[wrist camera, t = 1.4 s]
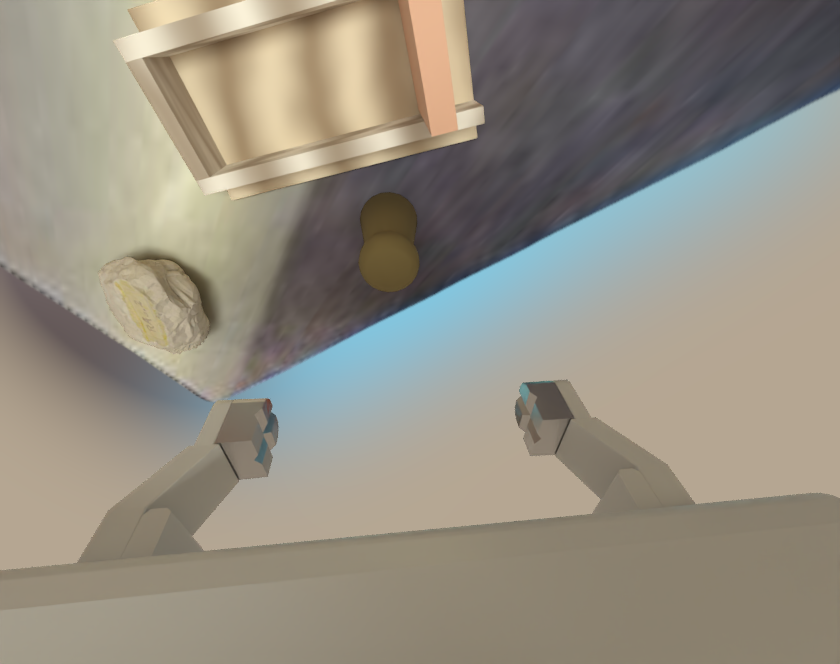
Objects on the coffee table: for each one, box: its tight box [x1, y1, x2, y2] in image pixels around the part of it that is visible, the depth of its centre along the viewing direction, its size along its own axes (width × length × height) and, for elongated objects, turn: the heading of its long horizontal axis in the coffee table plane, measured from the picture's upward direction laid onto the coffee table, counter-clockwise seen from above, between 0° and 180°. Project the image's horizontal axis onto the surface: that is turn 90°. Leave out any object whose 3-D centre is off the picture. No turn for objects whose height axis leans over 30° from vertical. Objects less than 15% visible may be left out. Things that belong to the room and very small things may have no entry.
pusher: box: [398, 0, 458, 137], centre depth 24 cm, size 2×7×12 cm, turn 12°
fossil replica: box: [98, 257, 210, 354], centre depth 38 cm, size 12×8×10 cm
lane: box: [113, 0, 485, 200], centre depth 28 cm, size 24×14×5 cm, turn 102°
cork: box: [358, 192, 419, 292], centre depth 34 cm, size 6×6×11 cm
